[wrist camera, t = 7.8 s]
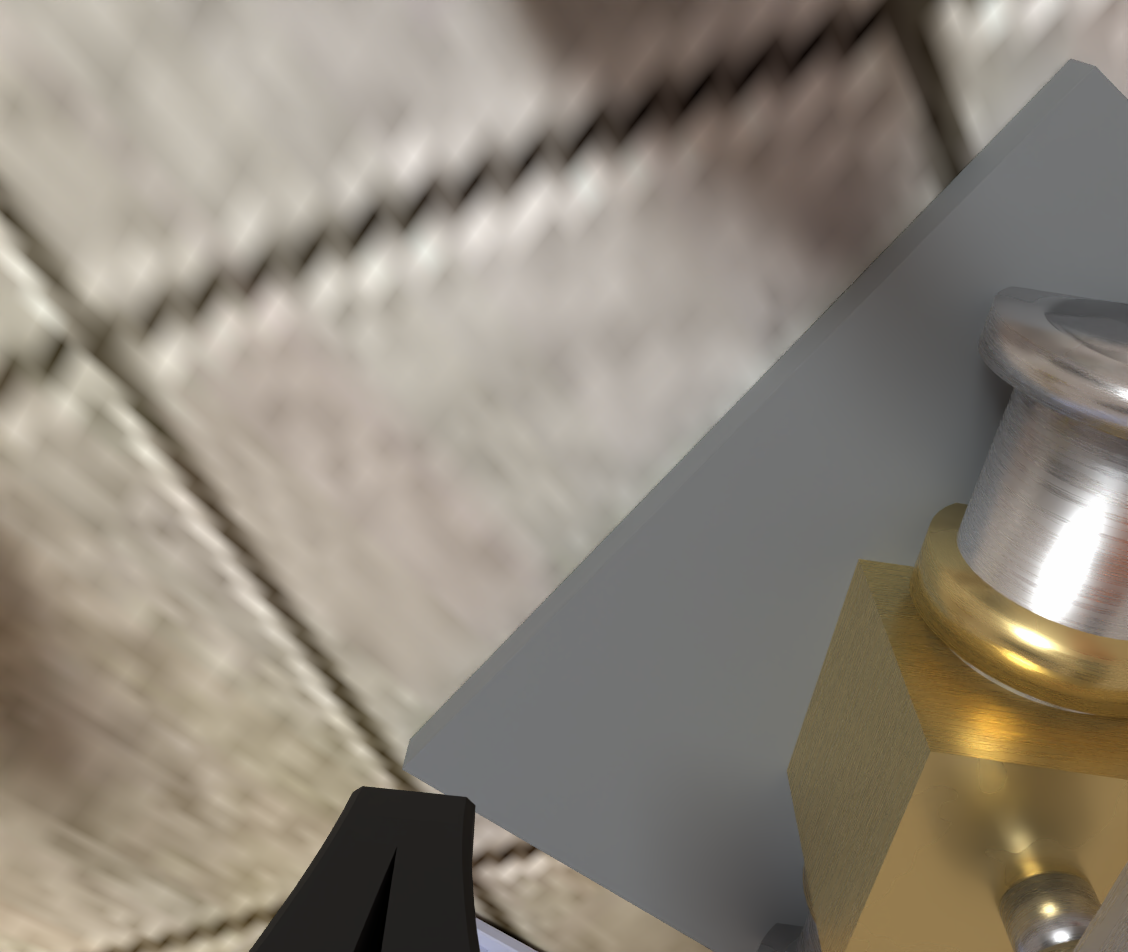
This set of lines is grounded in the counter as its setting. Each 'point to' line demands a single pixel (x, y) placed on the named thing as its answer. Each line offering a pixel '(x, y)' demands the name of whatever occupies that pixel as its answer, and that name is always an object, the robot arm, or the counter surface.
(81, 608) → the counter surface
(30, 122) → the counter surface
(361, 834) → the robot arm
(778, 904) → the mounting board
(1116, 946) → the lever
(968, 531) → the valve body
